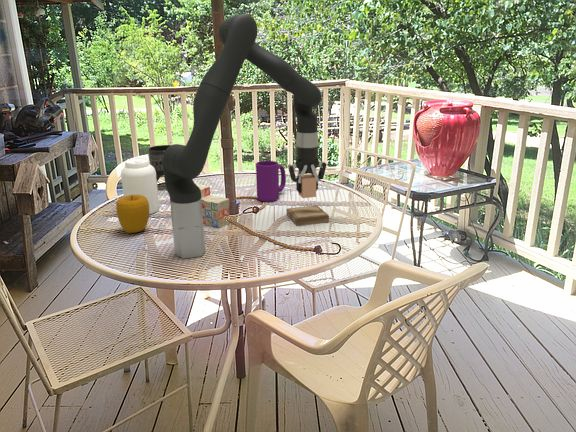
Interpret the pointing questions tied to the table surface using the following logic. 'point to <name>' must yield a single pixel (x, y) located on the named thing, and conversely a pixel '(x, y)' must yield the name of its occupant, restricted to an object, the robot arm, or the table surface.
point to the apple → (133, 213)
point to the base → (307, 215)
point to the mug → (269, 180)
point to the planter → (157, 159)
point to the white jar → (141, 181)
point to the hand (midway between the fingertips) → (307, 191)
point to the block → (308, 186)
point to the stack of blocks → (213, 208)
